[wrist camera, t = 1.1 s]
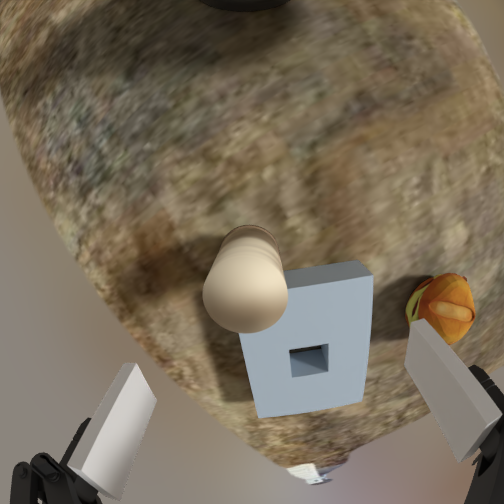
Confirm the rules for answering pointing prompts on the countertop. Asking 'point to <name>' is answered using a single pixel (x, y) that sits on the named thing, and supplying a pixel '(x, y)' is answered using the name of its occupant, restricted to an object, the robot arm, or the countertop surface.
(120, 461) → the robot arm
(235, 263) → the peg
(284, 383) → the board
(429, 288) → the cheeseburger
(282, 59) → the countertop surface
